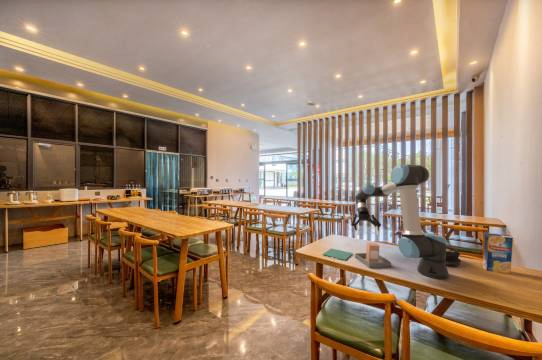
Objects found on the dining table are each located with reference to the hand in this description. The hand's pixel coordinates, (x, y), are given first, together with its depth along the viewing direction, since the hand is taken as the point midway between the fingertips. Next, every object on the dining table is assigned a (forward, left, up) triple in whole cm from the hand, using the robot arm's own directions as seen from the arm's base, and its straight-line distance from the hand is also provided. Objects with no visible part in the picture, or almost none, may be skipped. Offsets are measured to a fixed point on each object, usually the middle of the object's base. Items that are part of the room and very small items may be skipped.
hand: (368, 234), depth 163 cm
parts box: (-10, +3, -15) cm, 19 cm away
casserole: (-12, -49, -16) cm, 53 cm away
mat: (+5, +20, -15) cm, 25 cm away
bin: (-10, +3, -15) cm, 19 cm away
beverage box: (-30, -68, -16) cm, 76 cm away
